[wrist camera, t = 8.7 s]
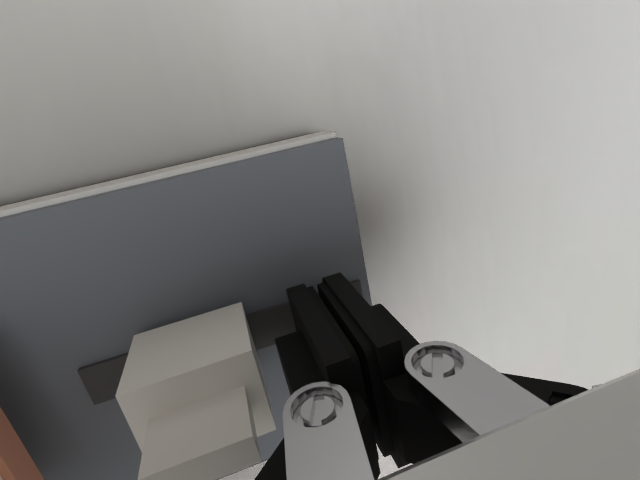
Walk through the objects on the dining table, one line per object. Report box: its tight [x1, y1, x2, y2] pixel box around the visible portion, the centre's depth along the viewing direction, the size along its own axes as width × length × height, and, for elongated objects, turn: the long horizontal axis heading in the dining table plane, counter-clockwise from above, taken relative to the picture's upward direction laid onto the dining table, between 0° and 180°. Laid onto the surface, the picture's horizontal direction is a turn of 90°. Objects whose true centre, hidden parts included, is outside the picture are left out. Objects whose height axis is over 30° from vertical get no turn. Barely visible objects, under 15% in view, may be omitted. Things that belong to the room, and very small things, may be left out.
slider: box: [115, 302, 276, 480], centre depth 10 cm, size 3×2×4 cm
